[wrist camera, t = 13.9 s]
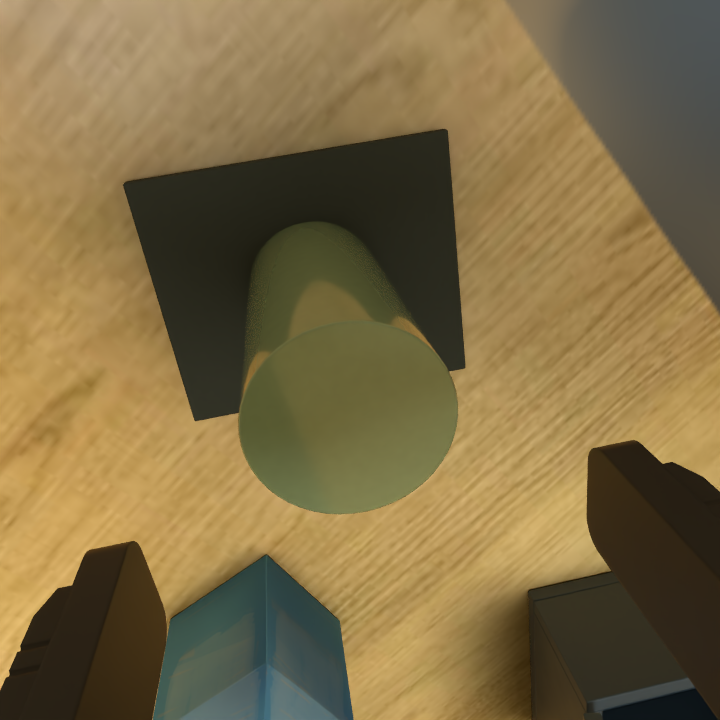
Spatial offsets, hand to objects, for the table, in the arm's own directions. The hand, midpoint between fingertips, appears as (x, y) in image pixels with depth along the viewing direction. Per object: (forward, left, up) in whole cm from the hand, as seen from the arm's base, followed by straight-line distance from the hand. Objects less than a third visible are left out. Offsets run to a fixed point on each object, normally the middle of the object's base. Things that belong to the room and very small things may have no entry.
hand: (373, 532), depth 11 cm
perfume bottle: (+6, +17, -16) cm, 24 cm away
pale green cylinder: (0, 0, -15) cm, 15 cm away
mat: (0, 0, -15) cm, 15 cm away
